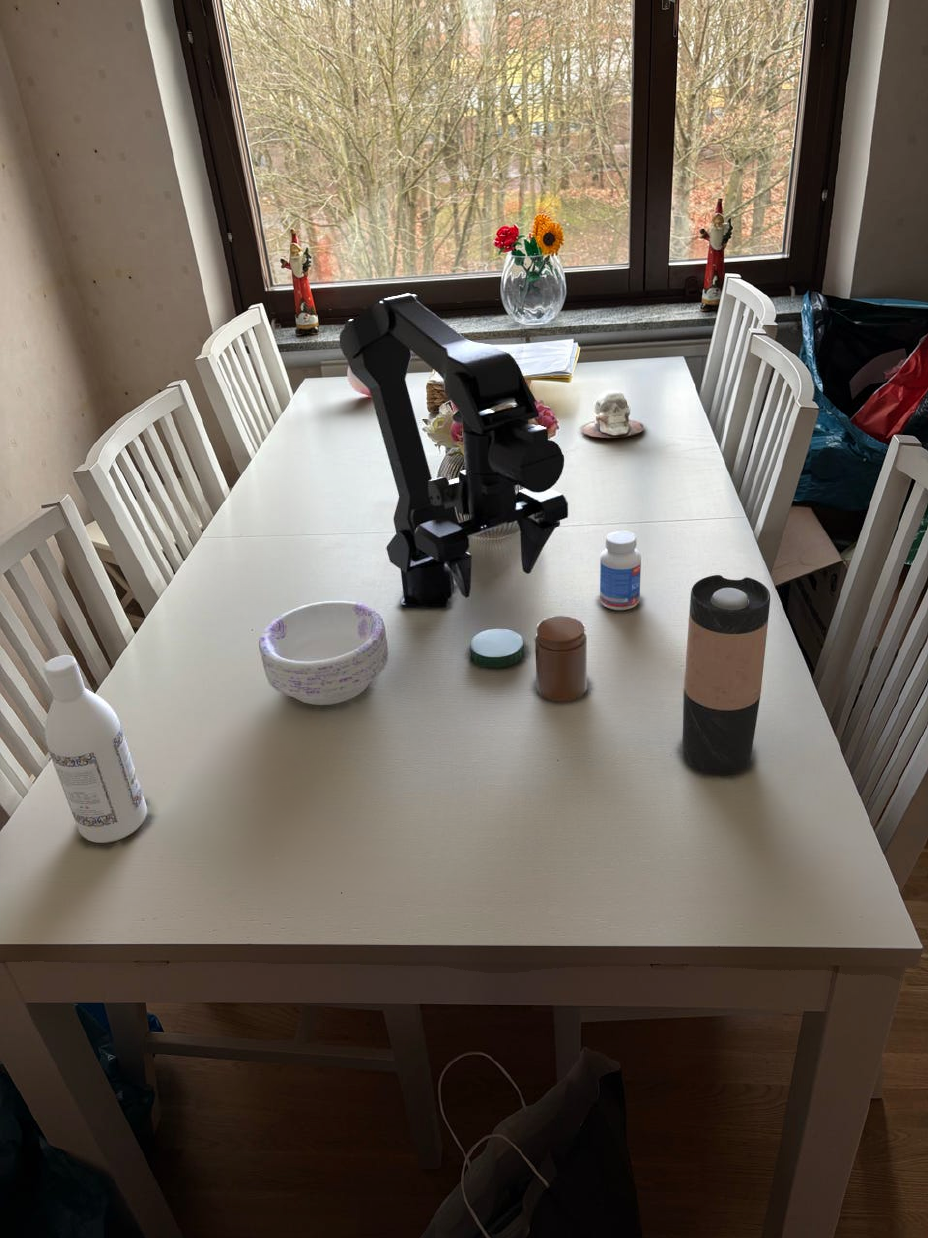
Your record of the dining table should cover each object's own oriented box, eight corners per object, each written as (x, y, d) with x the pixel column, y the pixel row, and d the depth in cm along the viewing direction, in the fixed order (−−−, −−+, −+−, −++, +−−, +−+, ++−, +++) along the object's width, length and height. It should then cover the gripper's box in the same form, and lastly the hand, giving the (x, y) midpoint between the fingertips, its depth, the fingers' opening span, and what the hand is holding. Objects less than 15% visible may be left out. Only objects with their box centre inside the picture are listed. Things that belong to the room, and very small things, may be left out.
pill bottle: (638, 612, 128) (640, 547, 123) (598, 610, 129) (598, 546, 124) (640, 592, 133) (642, 528, 128) (601, 590, 134) (602, 527, 129)
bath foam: (124, 790, 104) (73, 635, 94) (161, 816, 100) (112, 657, 90) (67, 826, 100) (6, 668, 89) (103, 855, 96) (43, 693, 85)
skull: (654, 433, 181) (619, 397, 177) (613, 470, 185) (578, 435, 181) (643, 410, 191) (609, 376, 187) (605, 445, 195) (570, 412, 191)
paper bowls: (257, 670, 123) (245, 617, 118) (369, 639, 127) (362, 587, 123) (286, 735, 110) (274, 679, 106) (409, 698, 115) (402, 643, 111)
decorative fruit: (344, 402, 213) (338, 358, 208) (354, 391, 220) (349, 347, 215) (385, 402, 212) (380, 357, 206) (394, 390, 218) (389, 347, 213)
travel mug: (711, 787, 98) (726, 620, 88) (665, 747, 104) (673, 587, 94) (768, 761, 101) (789, 597, 91) (720, 724, 107) (734, 566, 96)
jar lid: (532, 645, 123) (532, 634, 122) (509, 673, 118) (509, 662, 117) (485, 634, 126) (484, 624, 125) (461, 661, 121) (460, 650, 120)
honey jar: (545, 706, 112) (543, 645, 108) (530, 678, 117) (528, 619, 113) (593, 696, 113) (594, 636, 109) (577, 669, 118) (576, 610, 114)
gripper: (514, 427, 120) (519, 539, 128) (384, 466, 111) (398, 583, 119) (570, 451, 111) (571, 569, 119) (434, 495, 103) (446, 619, 111)
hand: (496, 584), depth 118 cm, fingers open, 9 cm apart
